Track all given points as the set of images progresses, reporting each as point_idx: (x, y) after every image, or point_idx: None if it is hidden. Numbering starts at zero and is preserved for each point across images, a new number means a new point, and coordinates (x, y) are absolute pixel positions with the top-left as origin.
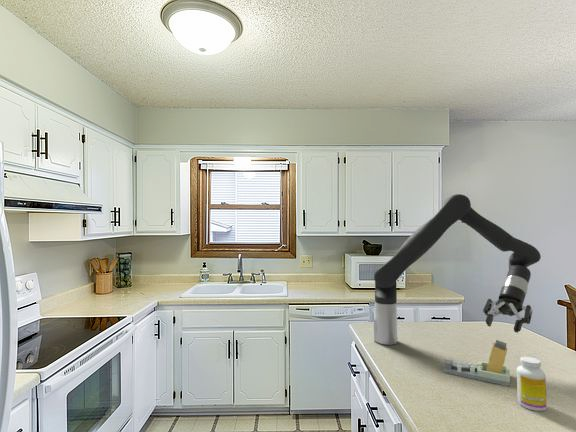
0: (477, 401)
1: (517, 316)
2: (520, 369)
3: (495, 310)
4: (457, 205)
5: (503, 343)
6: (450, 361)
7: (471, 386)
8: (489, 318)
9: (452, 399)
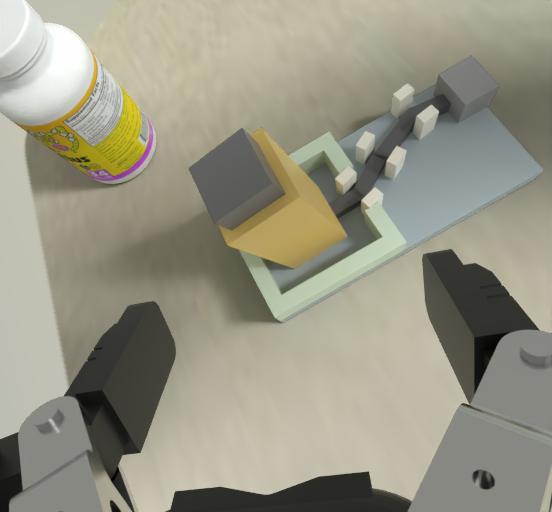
0: (231, 25)
1: (65, 446)
2: (55, 24)
3: (457, 413)
4: None
5: (217, 187)
6: (465, 92)
7: (305, 86)
8: (458, 291)
9: None
